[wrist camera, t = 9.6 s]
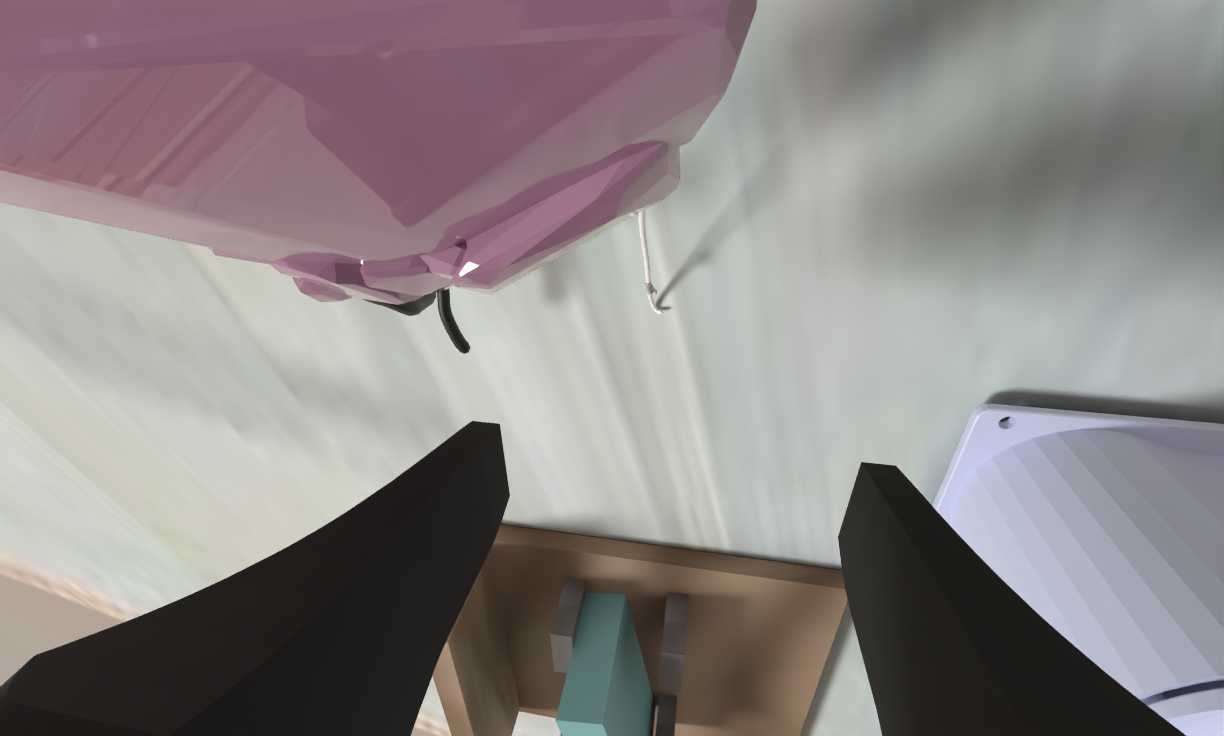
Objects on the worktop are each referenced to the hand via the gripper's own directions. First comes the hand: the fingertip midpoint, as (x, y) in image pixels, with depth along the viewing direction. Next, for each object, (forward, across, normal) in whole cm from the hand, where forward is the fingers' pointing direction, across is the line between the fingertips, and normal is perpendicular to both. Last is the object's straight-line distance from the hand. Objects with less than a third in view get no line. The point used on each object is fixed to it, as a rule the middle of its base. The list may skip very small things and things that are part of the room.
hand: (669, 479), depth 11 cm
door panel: (+8, +2, +21) cm, 22 cm away
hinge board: (+9, +1, +21) cm, 23 cm away
